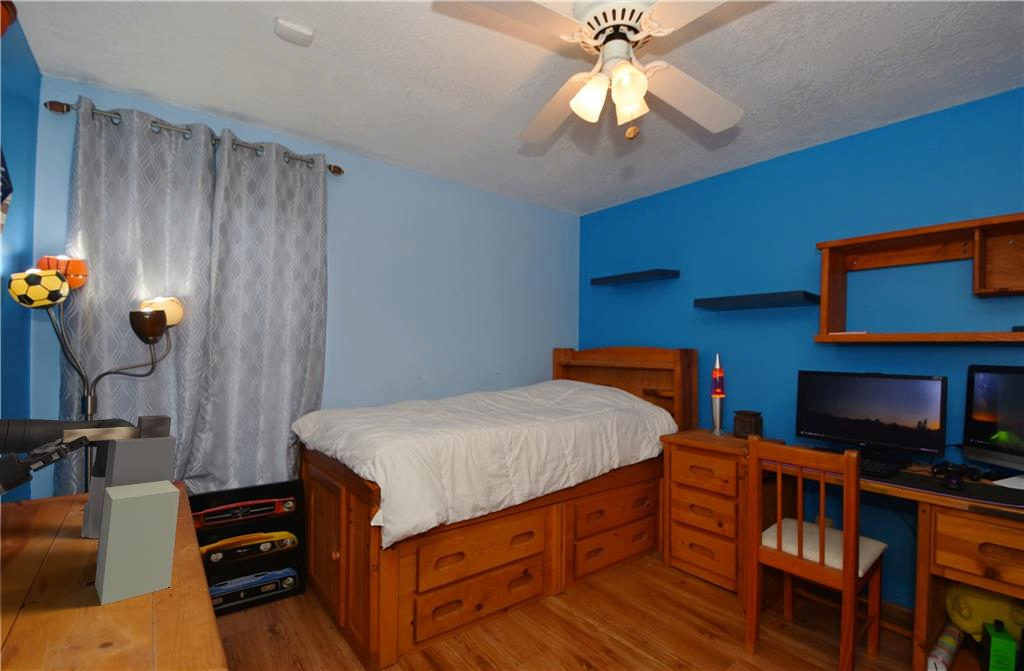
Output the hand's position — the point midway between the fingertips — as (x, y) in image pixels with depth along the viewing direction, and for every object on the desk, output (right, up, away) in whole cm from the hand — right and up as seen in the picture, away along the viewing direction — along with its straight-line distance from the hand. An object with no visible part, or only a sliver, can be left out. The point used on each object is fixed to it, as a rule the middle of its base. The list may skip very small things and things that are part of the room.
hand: (86, 436), depth 112 cm
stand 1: (+6, -34, +6) cm, 35 cm away
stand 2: (+16, -33, -6) cm, 37 cm away
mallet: (+4, -1, +4) cm, 6 cm away
